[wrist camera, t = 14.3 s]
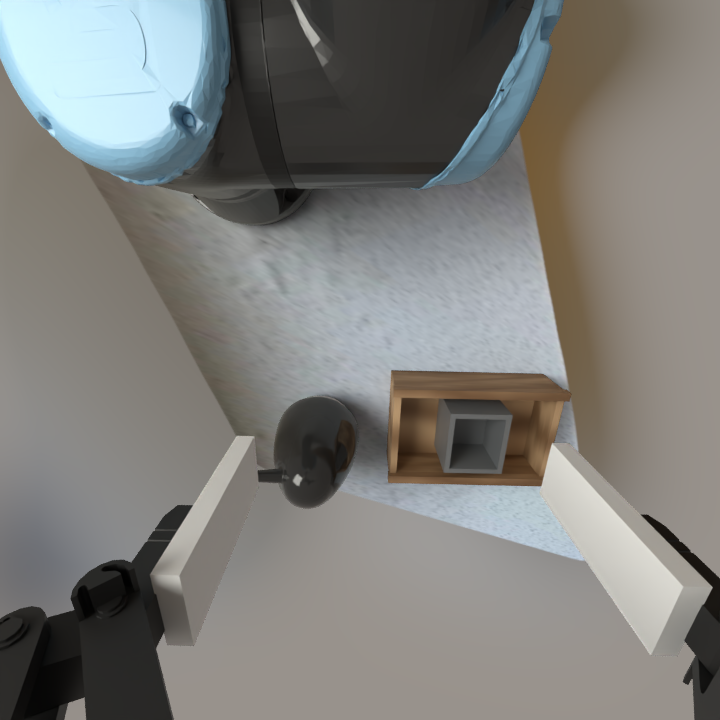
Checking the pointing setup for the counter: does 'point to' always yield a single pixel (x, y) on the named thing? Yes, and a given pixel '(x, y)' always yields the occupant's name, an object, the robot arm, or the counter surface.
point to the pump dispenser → (313, 451)
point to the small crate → (472, 435)
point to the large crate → (515, 390)
